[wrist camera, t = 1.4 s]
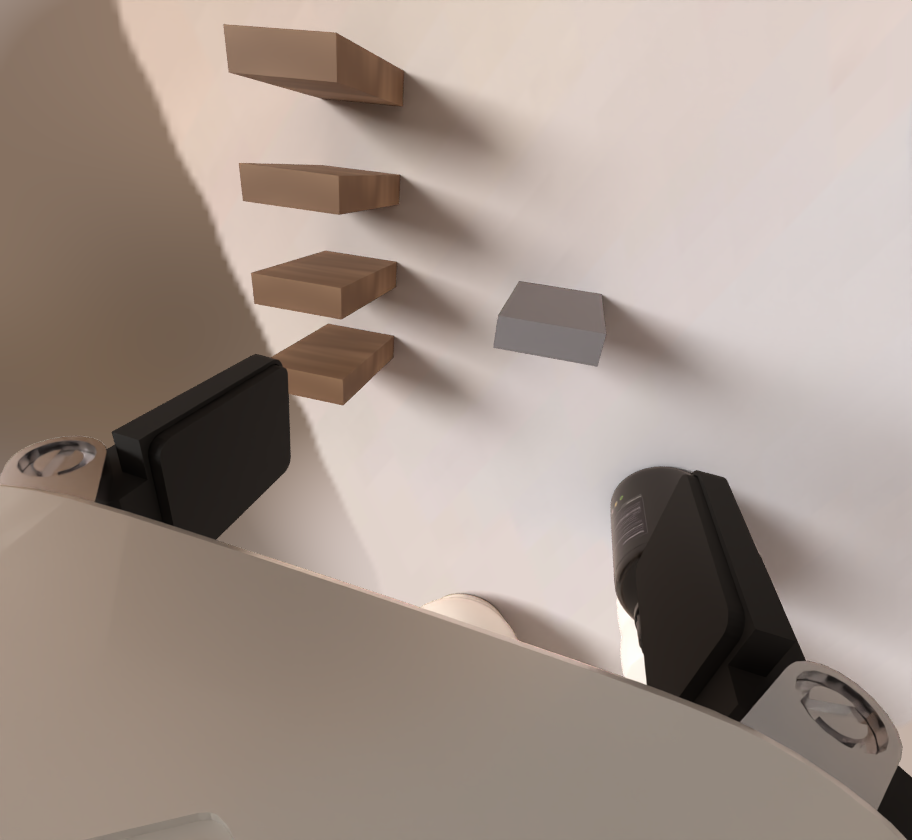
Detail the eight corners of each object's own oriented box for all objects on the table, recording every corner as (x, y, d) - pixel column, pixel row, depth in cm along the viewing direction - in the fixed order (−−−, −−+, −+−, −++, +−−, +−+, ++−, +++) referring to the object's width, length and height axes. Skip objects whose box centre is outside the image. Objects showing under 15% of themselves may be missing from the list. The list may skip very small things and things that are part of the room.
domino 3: (325, 250, 31) (251, 272, 24) (397, 262, 30) (340, 288, 23) (326, 275, 32) (254, 303, 25) (395, 286, 31) (341, 319, 24)
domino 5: (519, 281, 29) (498, 315, 22) (601, 294, 28) (606, 333, 21) (514, 306, 30) (493, 347, 23) (594, 319, 29) (597, 366, 22)
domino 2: (322, 165, 28) (238, 162, 22) (400, 174, 28) (338, 175, 21) (323, 194, 29) (242, 200, 22) (398, 204, 28) (339, 214, 22)
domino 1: (319, 63, 26) (223, 24, 19) (404, 71, 25) (335, 32, 18) (320, 98, 27) (228, 72, 20) (402, 106, 26) (336, 82, 19)
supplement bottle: (732, 483, 31) (803, 635, 21) (681, 552, 35) (720, 710, 25) (634, 448, 32) (657, 578, 22) (593, 518, 35) (596, 660, 25)
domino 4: (328, 323, 33) (261, 363, 26) (394, 335, 32) (342, 379, 26) (328, 344, 34) (264, 388, 27) (393, 357, 33) (343, 405, 26)
